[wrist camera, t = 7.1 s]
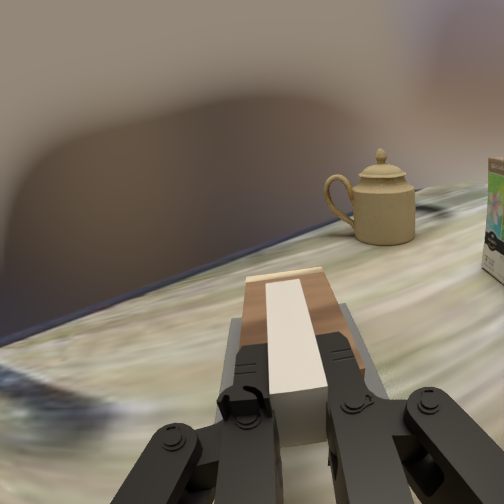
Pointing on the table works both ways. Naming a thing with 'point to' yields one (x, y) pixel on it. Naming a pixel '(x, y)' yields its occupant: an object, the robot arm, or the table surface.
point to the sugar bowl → (379, 204)
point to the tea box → (495, 221)
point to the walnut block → (317, 299)
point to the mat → (371, 373)
